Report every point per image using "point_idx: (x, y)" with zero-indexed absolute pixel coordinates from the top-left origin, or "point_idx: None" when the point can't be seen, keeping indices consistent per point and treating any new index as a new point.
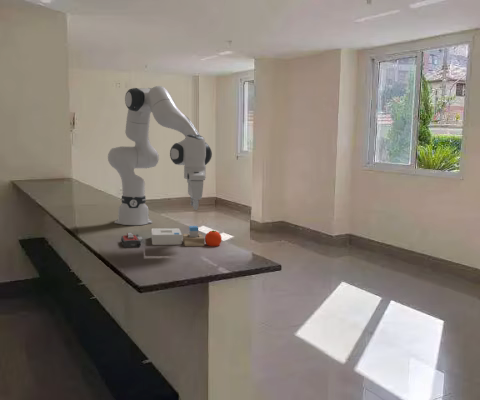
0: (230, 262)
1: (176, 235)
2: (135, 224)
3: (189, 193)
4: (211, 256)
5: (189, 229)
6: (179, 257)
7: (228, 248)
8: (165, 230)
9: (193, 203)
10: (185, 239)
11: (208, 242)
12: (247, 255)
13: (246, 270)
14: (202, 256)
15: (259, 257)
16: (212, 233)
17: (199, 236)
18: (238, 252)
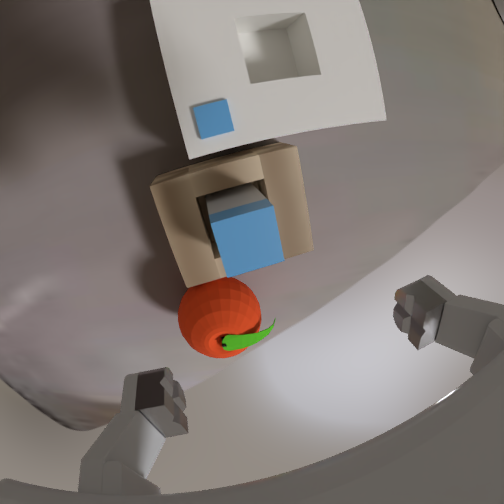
0: (36, 360)
1: (180, 124)
2: (496, 2)
3: (483, 410)
4: (64, 309)
5: (234, 209)
6: (6, 200)
7: None
8: (312, 39)
9: (118, 430)
10: (151, 188)
11: (182, 297)
12: None
13: (7, 384)
14: (50, 280)
15: None
16: (196, 338)
17: None
18: None
